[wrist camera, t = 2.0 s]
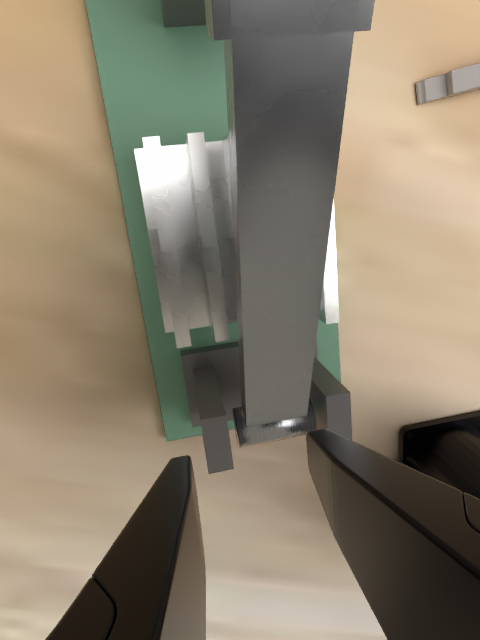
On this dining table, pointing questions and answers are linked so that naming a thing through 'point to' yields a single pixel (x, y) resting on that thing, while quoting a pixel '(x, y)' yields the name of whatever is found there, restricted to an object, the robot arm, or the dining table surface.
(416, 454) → the robot arm
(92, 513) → the dining table surface
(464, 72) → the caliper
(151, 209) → the heatsink
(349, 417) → the hinge post
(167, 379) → the board
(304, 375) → the strap
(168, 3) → the post
